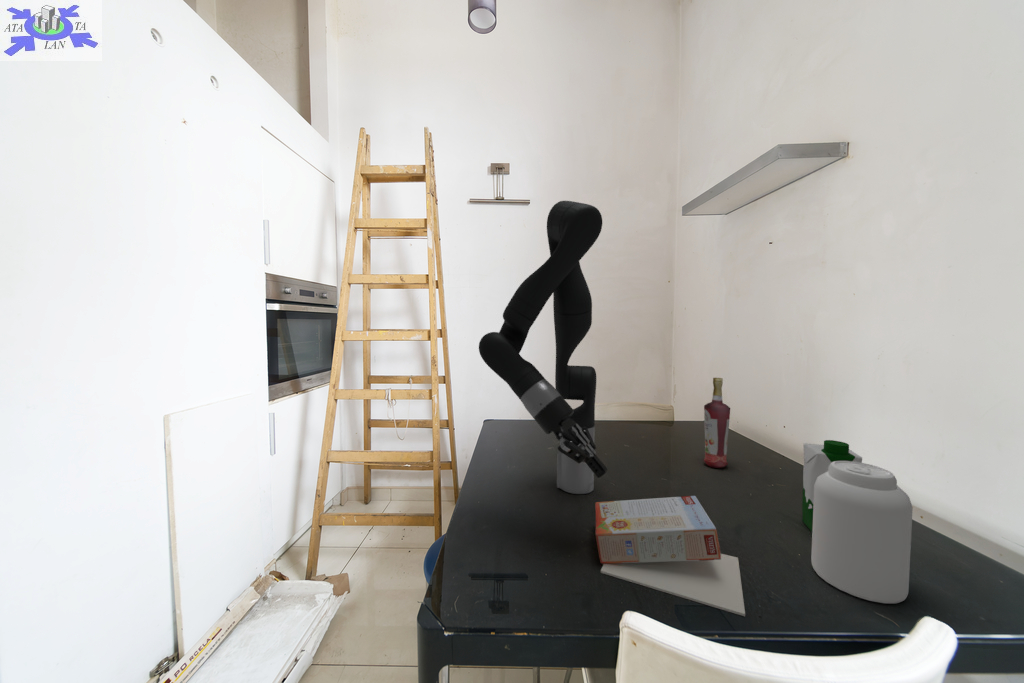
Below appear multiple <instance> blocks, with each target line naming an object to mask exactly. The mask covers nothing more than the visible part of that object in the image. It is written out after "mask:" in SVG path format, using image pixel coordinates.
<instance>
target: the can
mask: <svg viewBox="0 0 1024 683" xmlns="http://www.w3.org/2000/svg"><path fill="white" fill-rule="evenodd" d="M913 507H914V506H913V505H912V502H911V499H910V496H909V495H908V494H907V493H906V491H905V490H903V489H902V488H901V487H900V486H899V485H898V480H897V478H896V476H895V474H894V473H893V472H891V471H889V470H888V469H885V468H882V467H880V466H877V465H873V464H870V463H865V462H862V463H860V462H853V461H834V462H832V463H831V464H830V465H829V467H828V471H827V472H825V473H823V474H822V475H820V476H818V477H817V479H816V482H815V484H814V504H813V530H812V532H811V534H812V535H811V536H812V537H811V559H810V562H811V566H812V568H813V570H814V572H816V574H817V575H818V576H819V577H820V578H821V579H822V580H824V581H825V582H826V583H827V584H830V585H831V586H833V587H834V588H836V589H837V590H840V591H842V592H844V593H847V594H849V595H851V596H853V597H857V598H859V599H863V600H866V601H870V602H875V603H878V604H879V603H880V604H899V603H901V602H903V601H905V600H906V599H907V597H908V595H909V592H910V591H909V590H910V589H909V588H910V586H909V585H910V566H911V565H910V564H911V551H912V550H911V547H912V528H913V527H912V525H913V511H914V510H913Z"/></svg>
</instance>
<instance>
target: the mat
mask: <svg viewBox="0 0 1024 683" xmlns="http://www.w3.org/2000/svg"><path fill="white" fill-rule="evenodd" d="M739 564H740V563H739V557H738V556H737V557H736V556H732V555H728V554H724V553H721V560H699V561H665V562H634V563H602V567H601V569H600V574H603V575H606V576H610V577H614V578H616V579H620V580H623V581H626V582H631V583H633V584H637V585H640V586H644V587H646V588H649V589H653V590H656V591H659V592H663V593H667V594H670V595H672V596H676V597H678V598H682V599H686V600H689V601H693V602H696V603H699V604H702V605H706V606H709V607H712V608H715V609H719V610H722V611H725V612H728V613H732V614H735V615H738V616H742V617H746V610H745V609H746V608H745V603H744V602H745V600H744V594H743V586H742V578H741V571H740V565H739Z"/></svg>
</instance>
